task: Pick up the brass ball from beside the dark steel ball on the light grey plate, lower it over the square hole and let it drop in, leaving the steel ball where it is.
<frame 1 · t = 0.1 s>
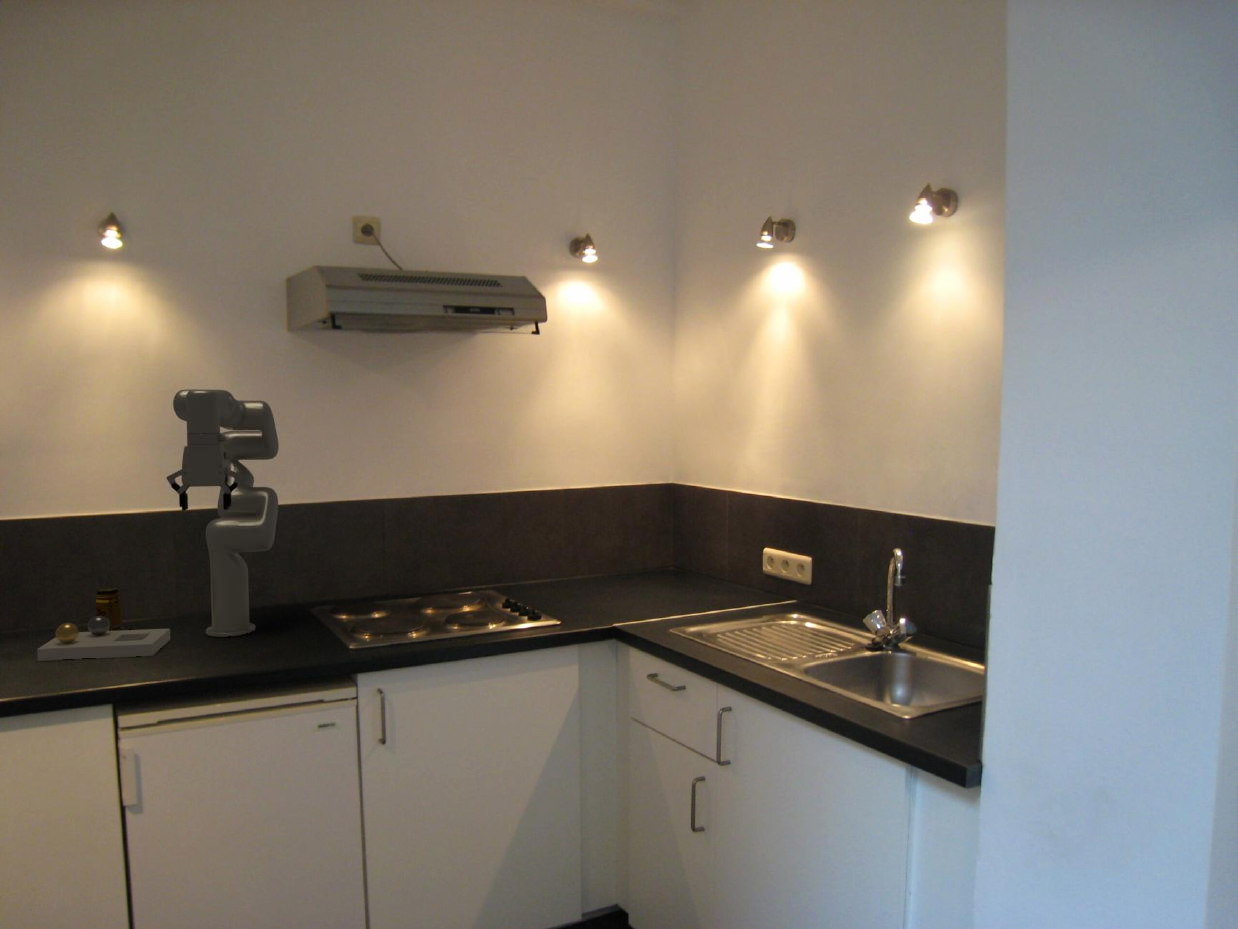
hand: (205, 509, 232), 37 cm above the worktop, tool pointing down, fingers open, 9 cm apart
brass ball: (67, 633, 234), point 5 cm above the worktop, touching hole plate
condiment: (112, 632, 258), on the worktop
hole plate: (106, 649, 239), on the worktop
steel ball: (98, 625, 242), point 5 cm above the worktop, touching hole plate
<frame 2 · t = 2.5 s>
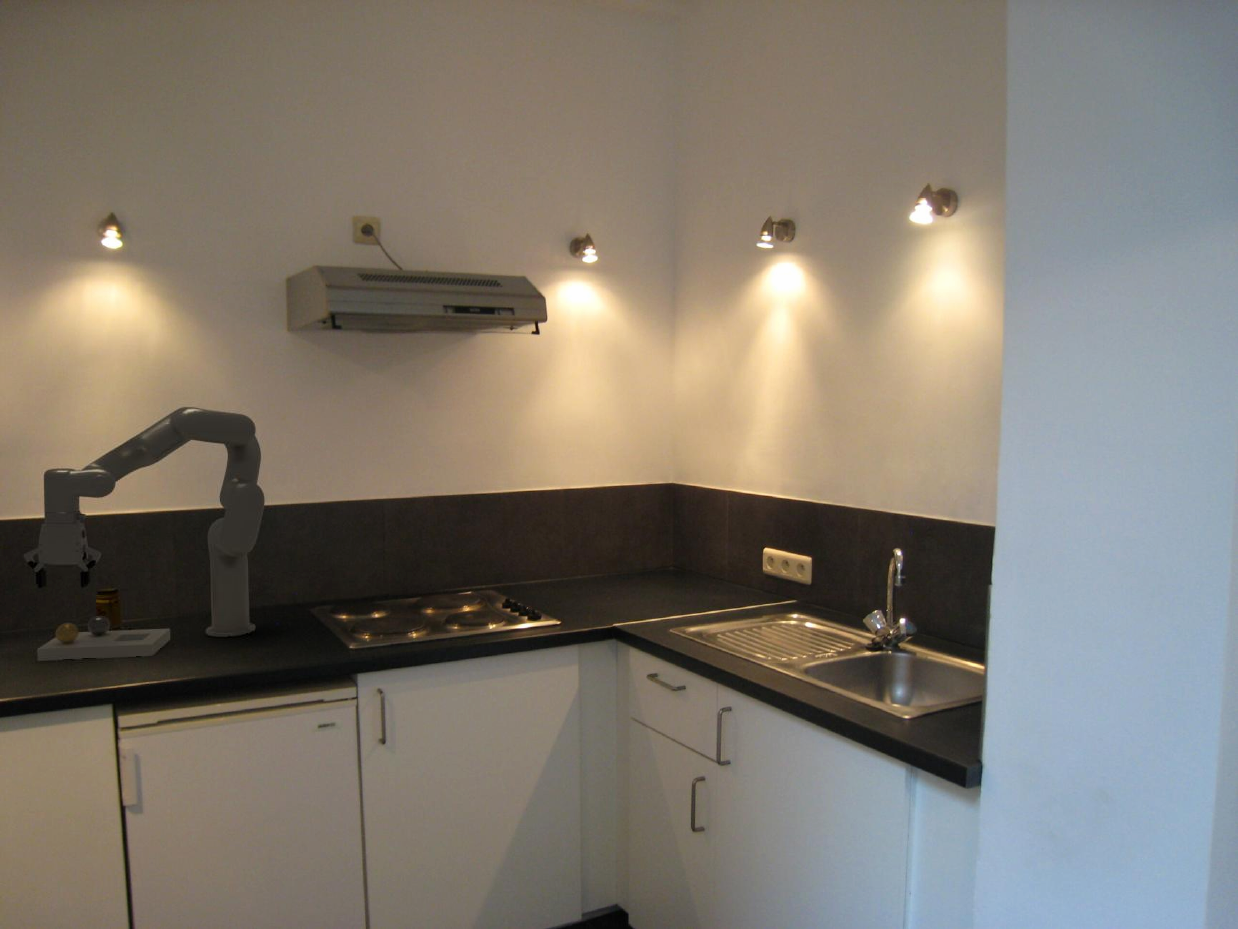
hand: (63, 586, 233), 17 cm above the worktop, tool pointing down, fingers open, 9 cm apart
nothing on the worktop moved.
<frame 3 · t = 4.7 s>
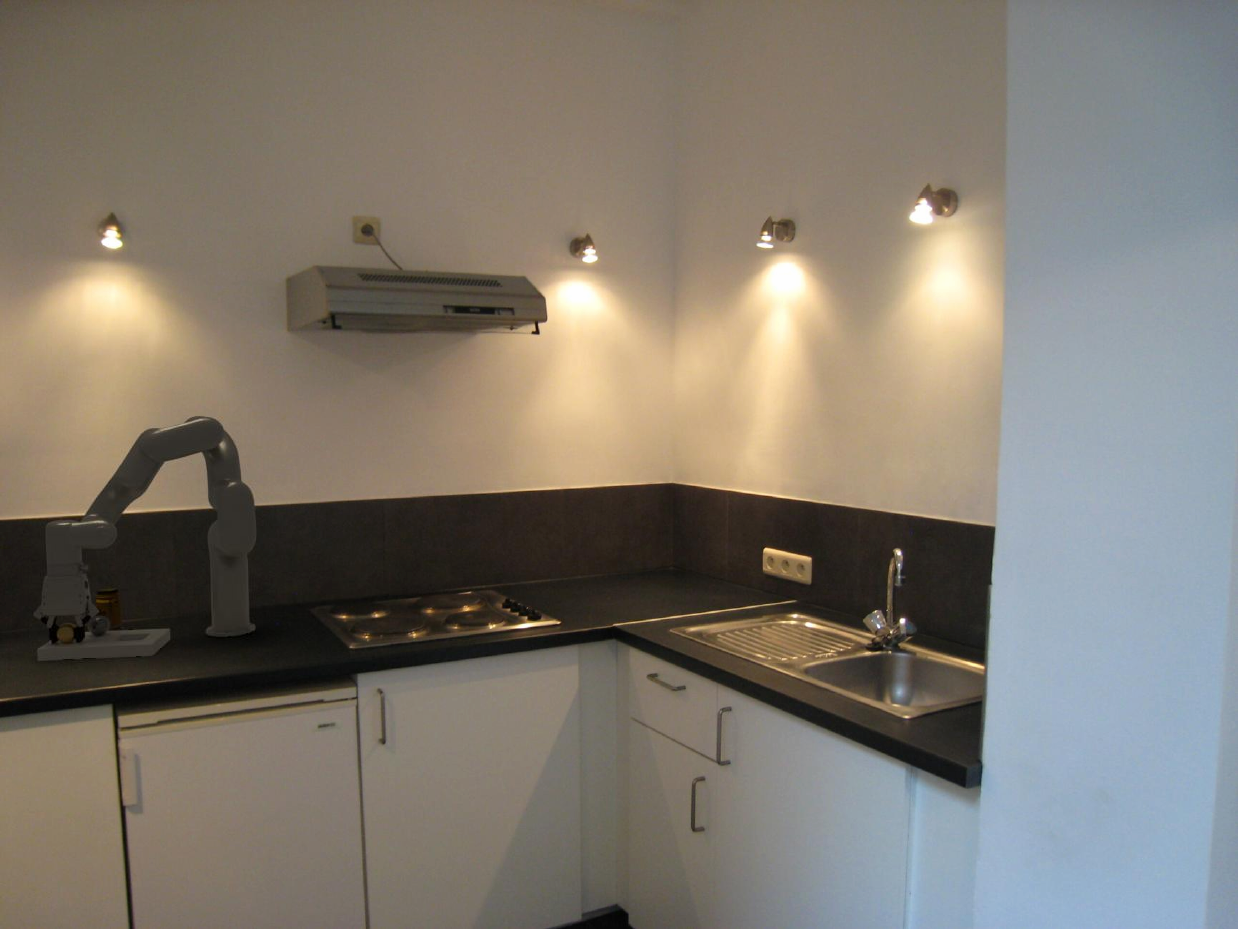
hand: (67, 641, 234), 3 cm above the worktop, tool pointing down, fingers closed on brass ball, 5 cm apart
brass ball: (67, 633, 234), point 5 cm above the worktop, touching gripper, hole plate
everything else where it was.
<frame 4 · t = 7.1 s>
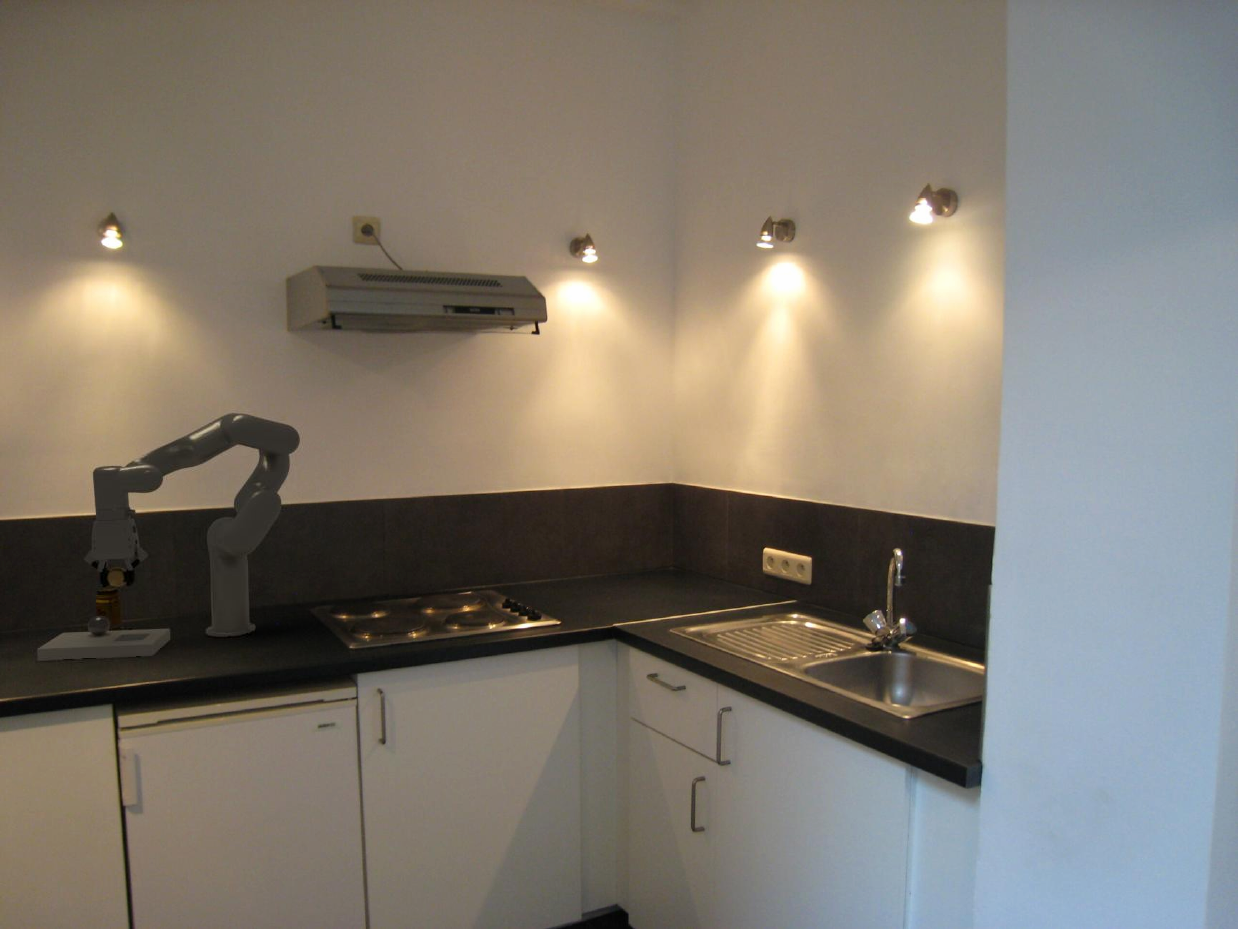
hand: (118, 585, 238), 17 cm above the worktop, tool pointing down, fingers closed on brass ball, 5 cm apart
brass ball: (117, 577, 238), point 19 cm above the worktop, touching gripper
everything else where it was.
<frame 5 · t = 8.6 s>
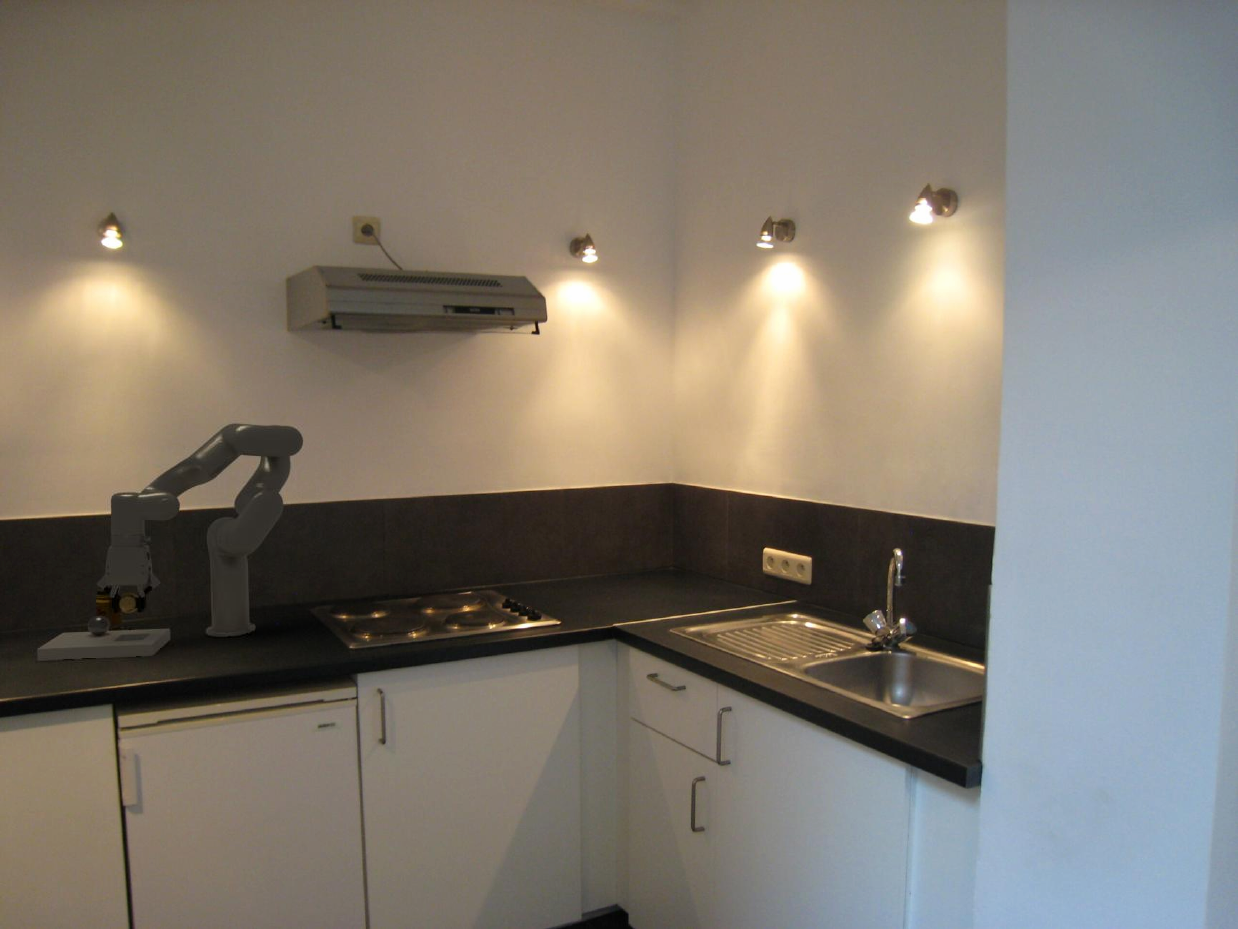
hand: (129, 611, 239), 10 cm above the worktop, tool pointing down, fingers closed on brass ball, 5 cm apart
brass ball: (129, 602, 239), point 12 cm above the worktop, touching gripper
everything else where it was.
when the fingers open (5 cm above the worktop, at t = 9.7 s): brass ball drops 4 cm, point 2 cm above the worktop.
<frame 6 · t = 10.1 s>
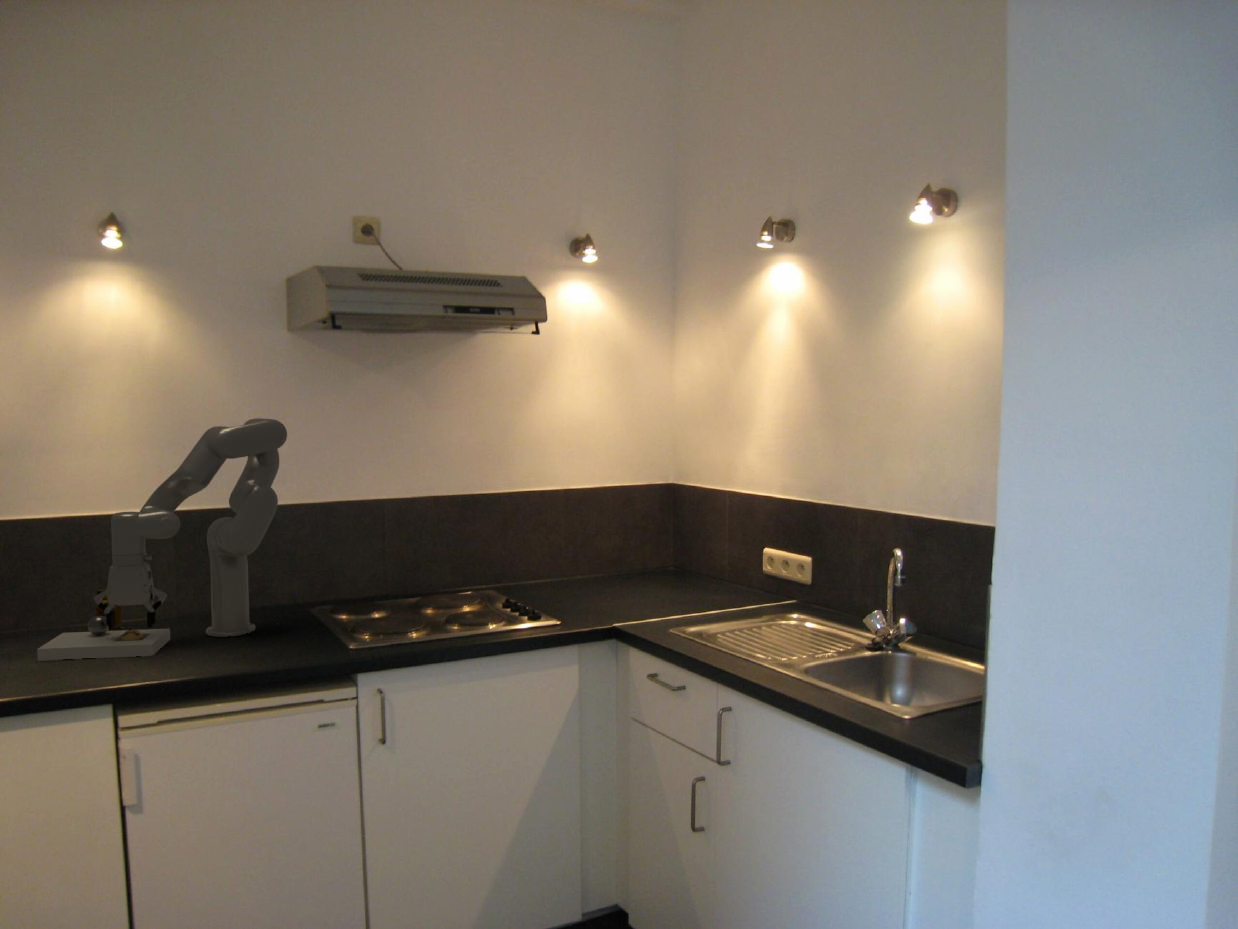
hand: (131, 627, 240), 6 cm above the worktop, tool pointing down, fingers open, 8 cm apart
brass ball: (132, 639, 240), point 2 cm above the worktop
everything else where it was.
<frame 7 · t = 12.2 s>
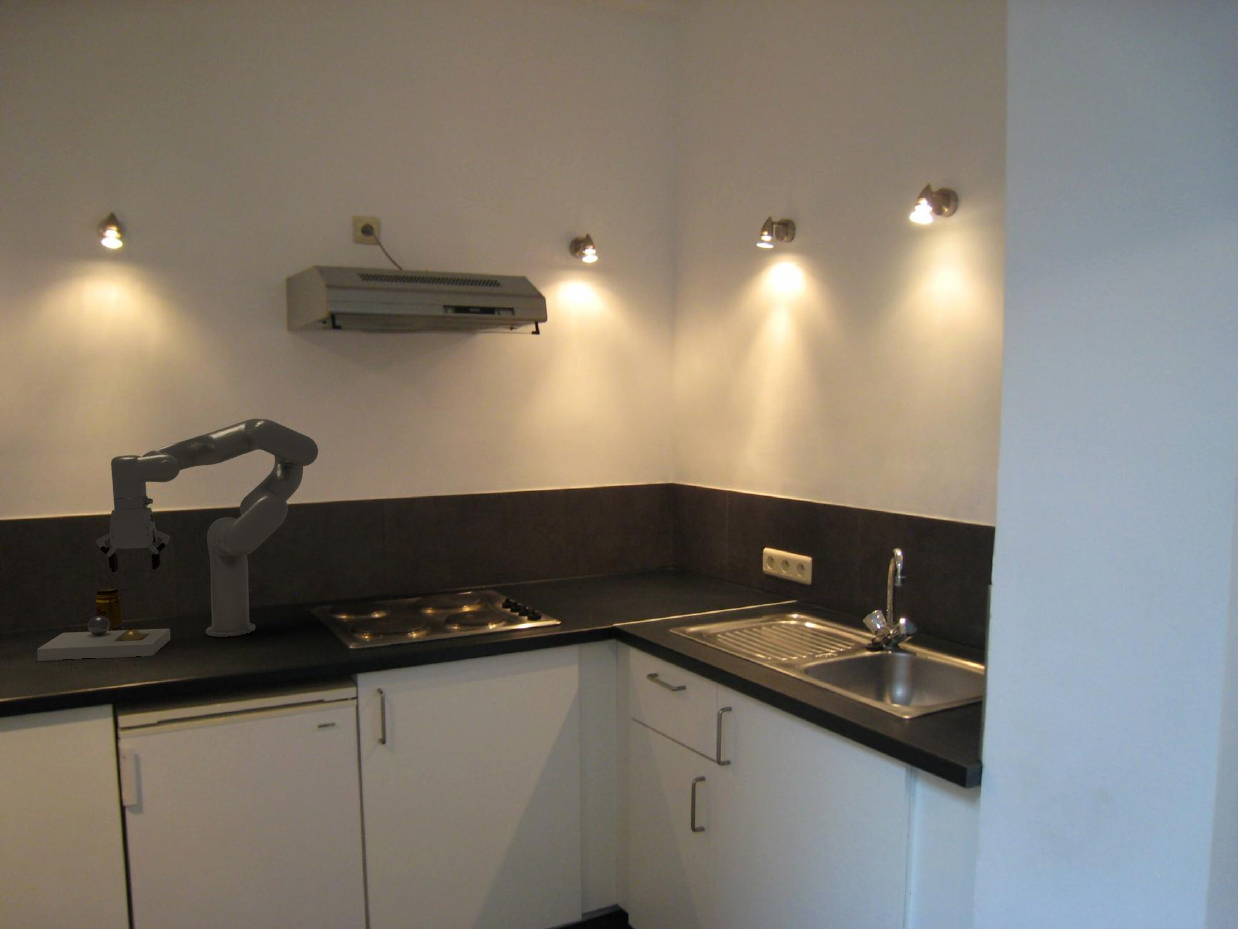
hand: (135, 569, 241), 20 cm above the worktop, tool pointing down, fingers open, 9 cm apart
nothing on the worktop moved.
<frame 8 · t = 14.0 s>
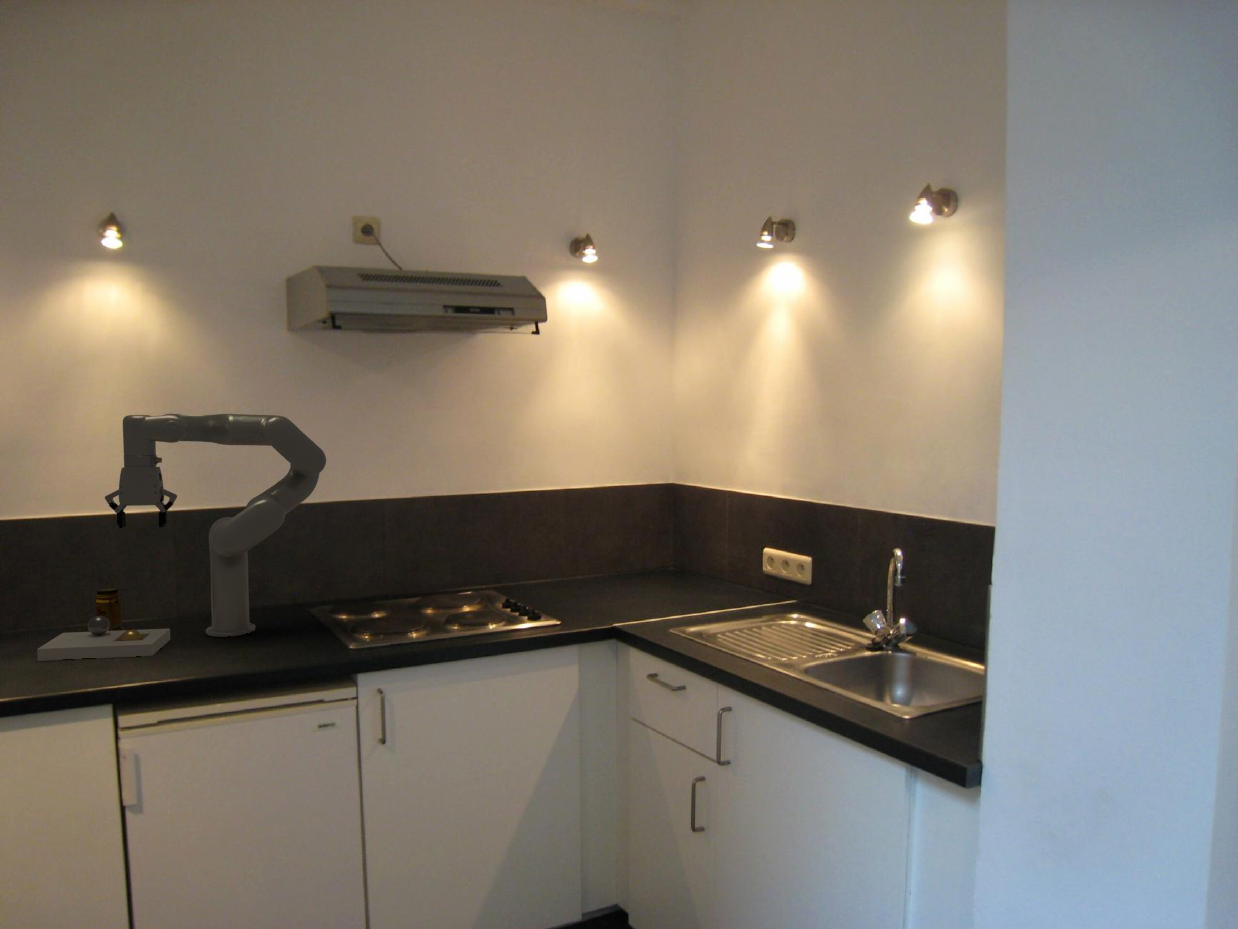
hand: (142, 527, 246), 30 cm above the worktop, tool pointing down, fingers open, 9 cm apart
nothing on the worktop moved.
at the end: brass ball 0.2 cm from the target spot on the hole plate, point 2.5 cm above the hole plate's base; the gripper is holding nothing; steel ball moved 0.0 cm from its start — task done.
